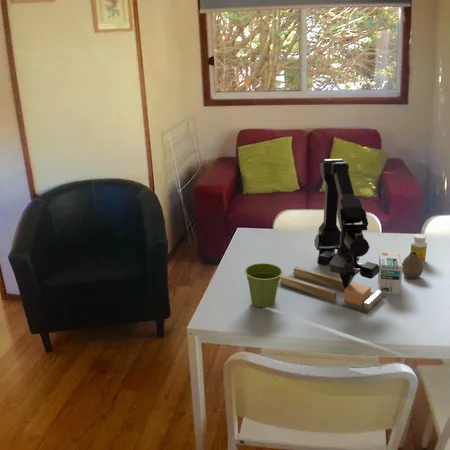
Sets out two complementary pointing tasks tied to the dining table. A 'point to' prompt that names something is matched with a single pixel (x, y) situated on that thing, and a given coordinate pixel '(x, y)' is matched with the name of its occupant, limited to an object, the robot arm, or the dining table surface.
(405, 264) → the vase
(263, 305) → the plant pot
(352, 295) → the orange block
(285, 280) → the chute
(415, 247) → the supplement bottle
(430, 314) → the dining table surface
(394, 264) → the light bulb box
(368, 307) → the stop bar
